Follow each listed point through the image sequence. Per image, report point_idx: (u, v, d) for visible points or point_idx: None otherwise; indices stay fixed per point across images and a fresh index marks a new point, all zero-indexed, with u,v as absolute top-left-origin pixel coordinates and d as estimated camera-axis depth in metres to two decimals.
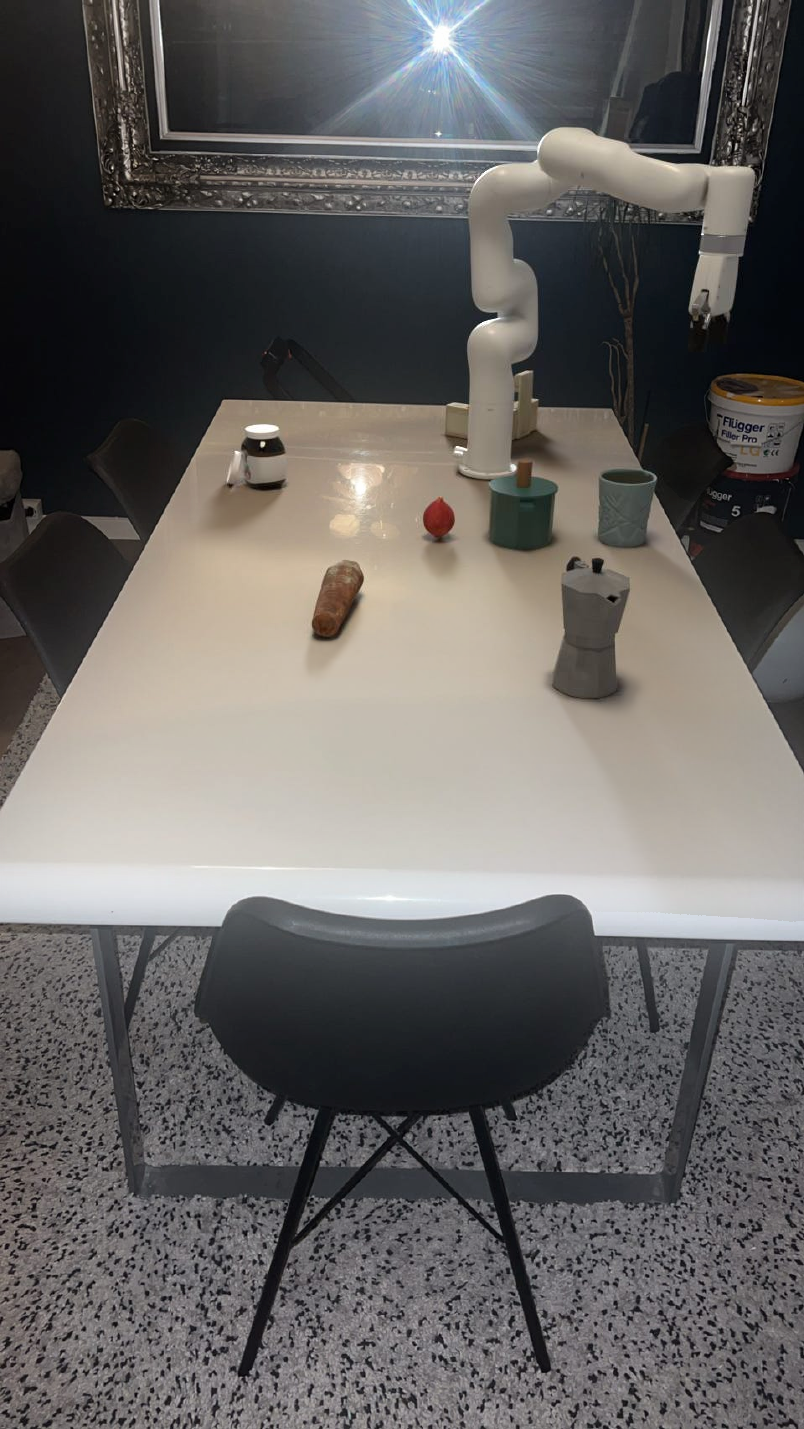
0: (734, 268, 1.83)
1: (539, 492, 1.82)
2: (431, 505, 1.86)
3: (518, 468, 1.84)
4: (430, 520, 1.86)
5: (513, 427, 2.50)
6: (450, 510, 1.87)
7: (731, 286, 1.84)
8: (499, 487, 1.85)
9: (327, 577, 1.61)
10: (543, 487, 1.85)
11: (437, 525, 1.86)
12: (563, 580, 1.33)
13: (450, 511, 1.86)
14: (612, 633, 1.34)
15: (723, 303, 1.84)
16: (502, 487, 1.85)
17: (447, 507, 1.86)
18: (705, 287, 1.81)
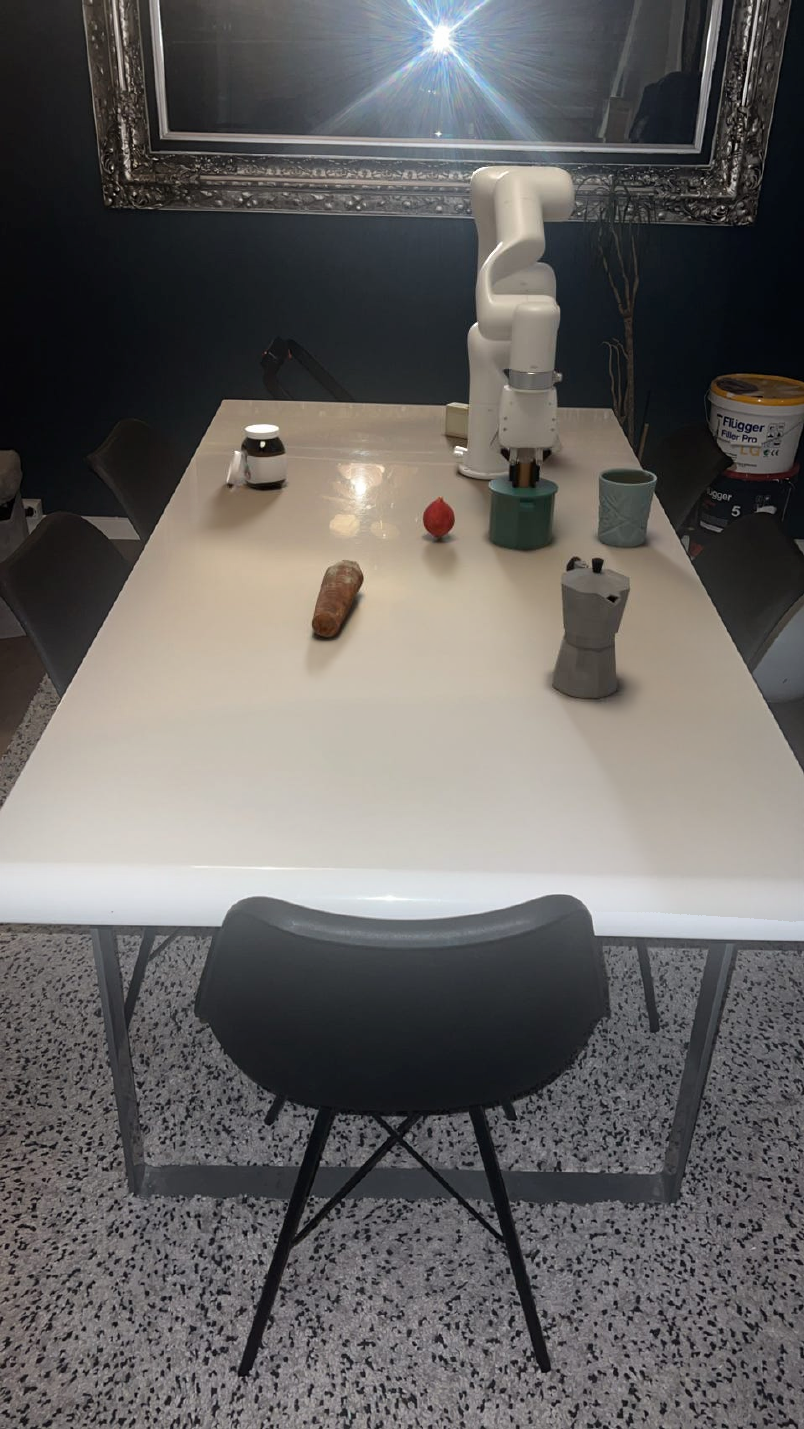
0: (537, 404, 1.76)
1: (539, 492, 1.82)
2: (431, 505, 1.86)
3: (518, 468, 1.84)
4: (430, 520, 1.86)
5: None
6: (450, 510, 1.87)
7: (536, 422, 1.78)
8: (500, 487, 1.85)
9: (327, 577, 1.61)
10: (543, 487, 1.85)
11: (437, 525, 1.86)
12: (563, 580, 1.33)
13: (450, 511, 1.86)
14: (612, 633, 1.34)
15: (522, 436, 1.79)
16: (502, 487, 1.85)
17: (447, 507, 1.86)
18: (499, 416, 1.80)
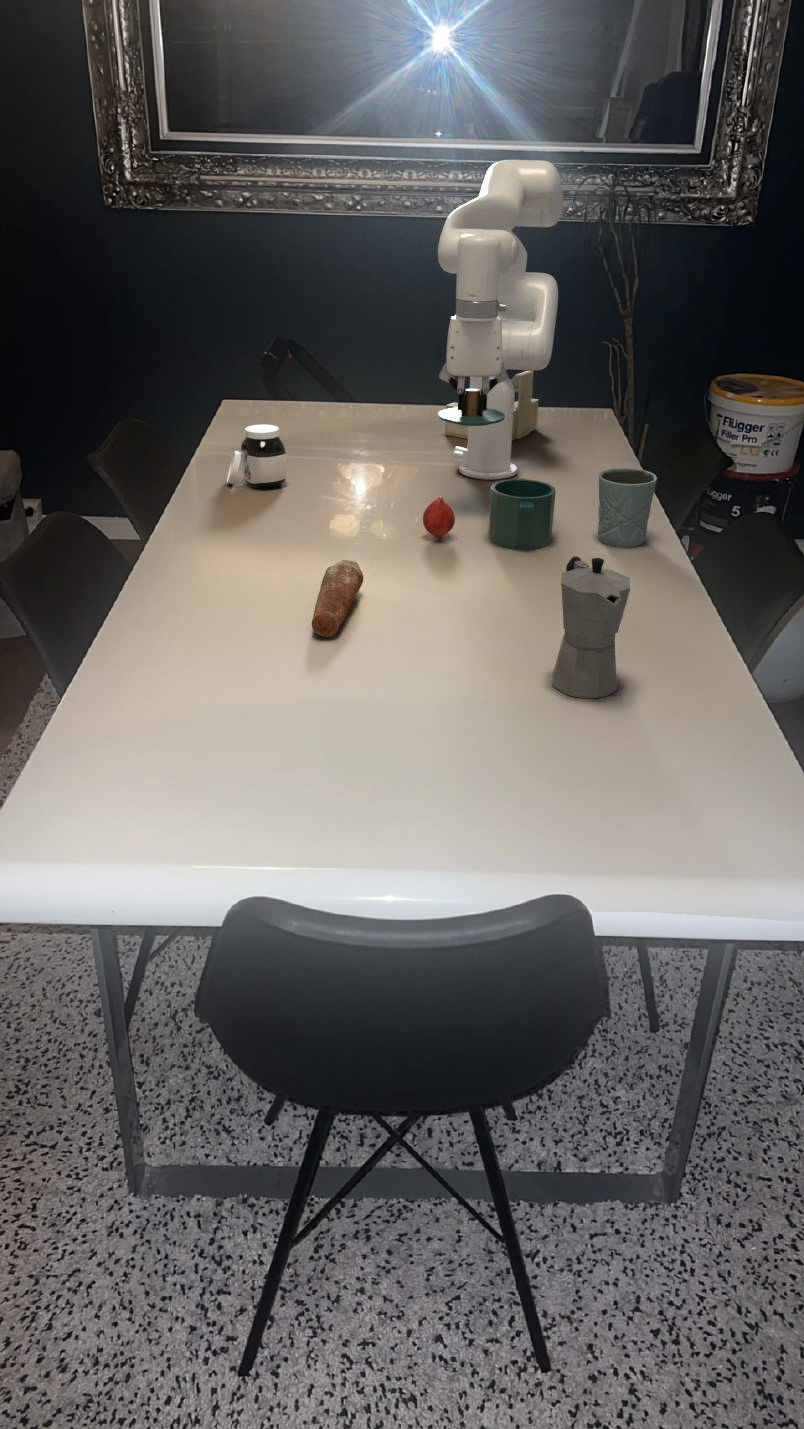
0: (482, 333, 1.85)
1: (486, 419, 1.91)
2: (431, 505, 1.86)
3: (466, 397, 1.92)
4: (430, 520, 1.86)
5: (513, 427, 2.50)
6: (450, 510, 1.87)
7: (482, 350, 1.86)
8: (449, 415, 1.93)
9: (327, 577, 1.61)
10: (490, 415, 1.93)
11: (437, 525, 1.86)
12: (563, 580, 1.33)
13: (450, 511, 1.86)
14: (612, 633, 1.34)
15: (468, 365, 1.88)
16: (451, 415, 1.93)
17: (448, 507, 1.86)
18: (447, 346, 1.88)
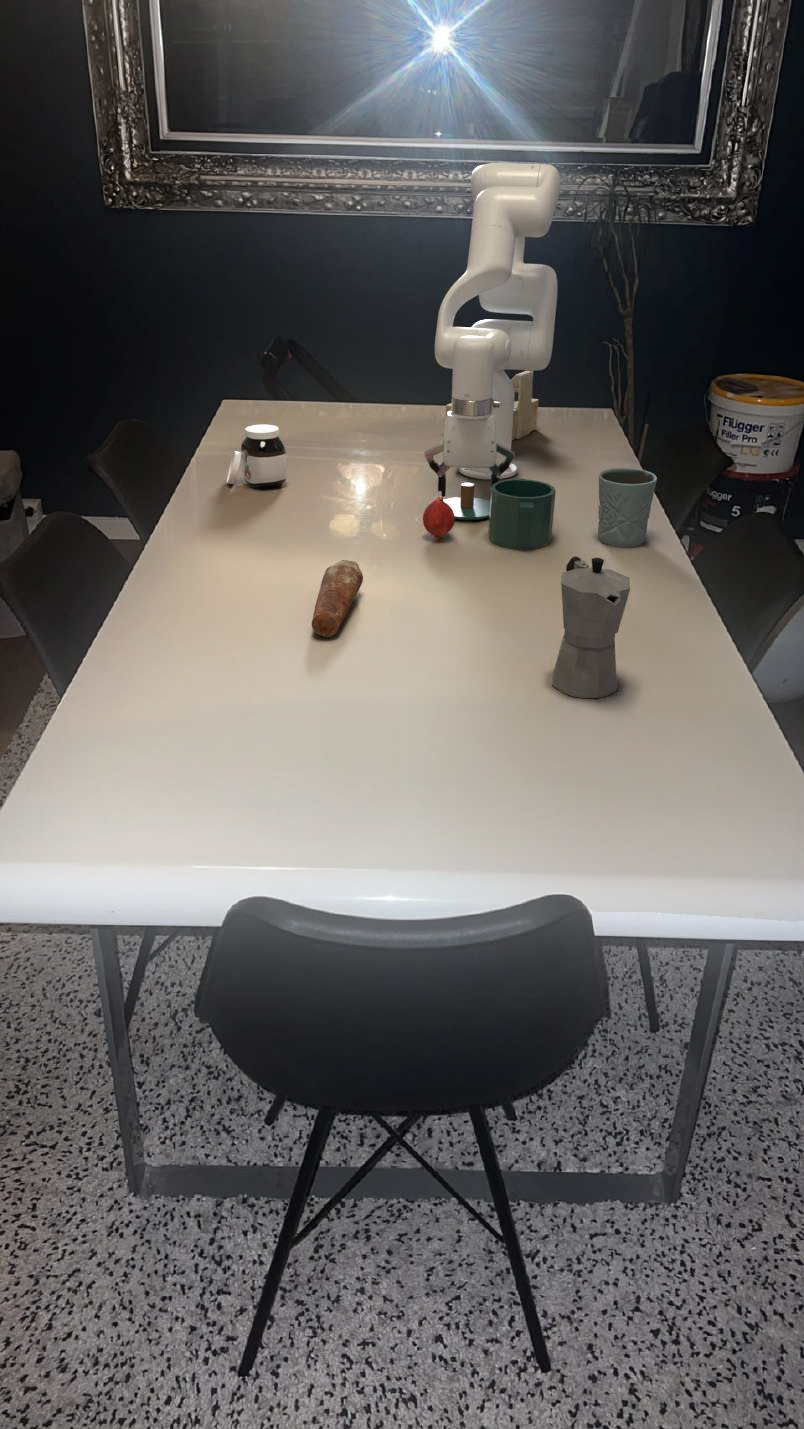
0: (477, 429, 1.93)
1: (480, 513, 2.00)
2: (431, 505, 1.86)
3: (461, 491, 2.01)
4: (430, 520, 1.86)
5: (513, 427, 2.50)
6: (450, 510, 1.87)
7: (477, 444, 1.95)
8: None
9: (326, 577, 1.61)
10: (484, 508, 2.02)
11: (437, 525, 1.86)
12: (563, 580, 1.33)
13: (450, 511, 1.86)
14: (612, 633, 1.34)
15: (464, 458, 1.97)
16: None
17: (448, 507, 1.86)
18: (443, 439, 1.97)
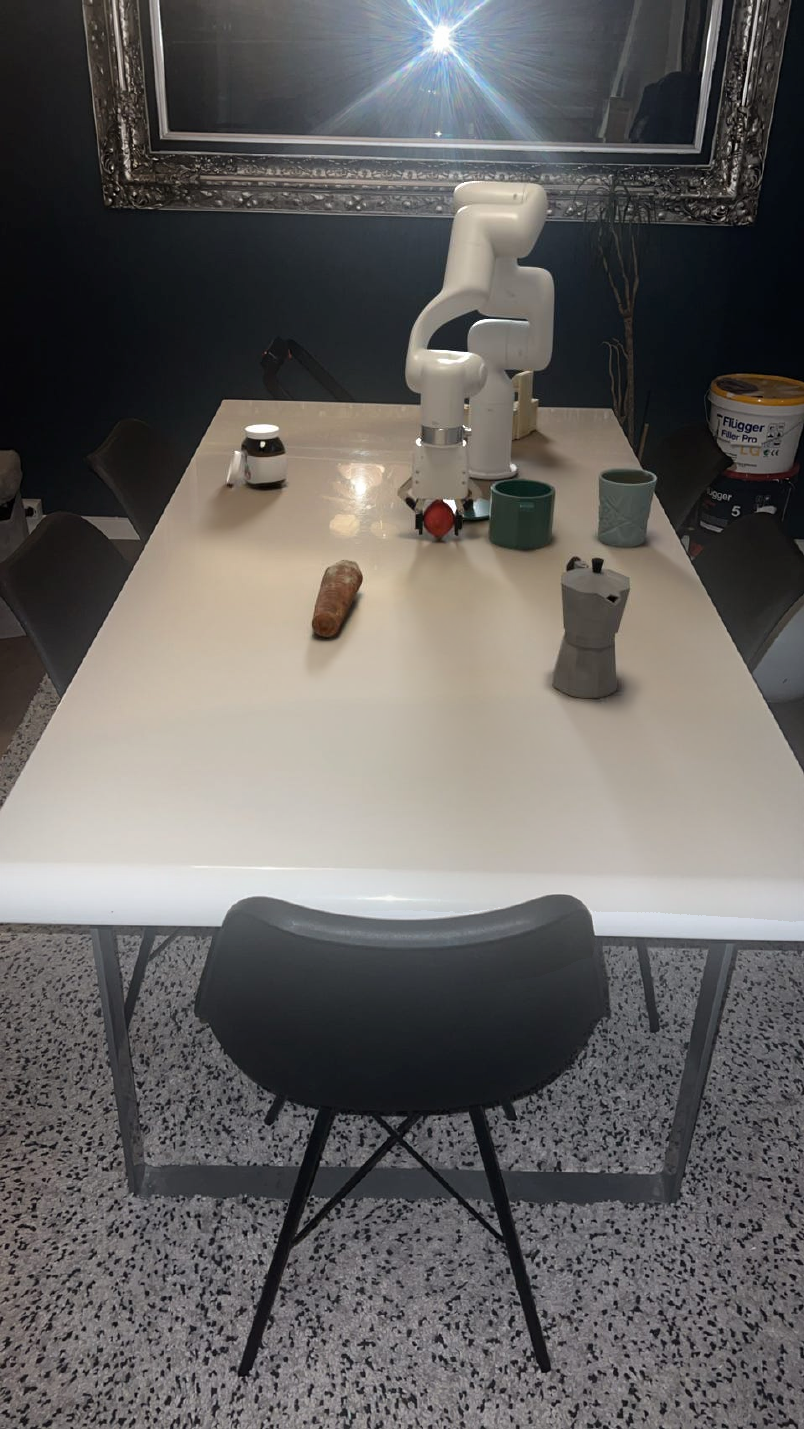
0: (447, 458, 1.80)
1: (480, 513, 2.00)
2: (431, 505, 1.86)
3: None
4: (430, 520, 1.86)
5: (513, 427, 2.50)
6: (450, 510, 1.87)
7: (447, 475, 1.82)
8: None
9: (326, 577, 1.61)
10: (484, 508, 2.02)
11: (438, 525, 1.86)
12: (563, 580, 1.33)
13: (450, 511, 1.86)
14: (612, 633, 1.34)
15: (434, 489, 1.83)
16: None
17: (448, 507, 1.86)
18: (412, 469, 1.84)
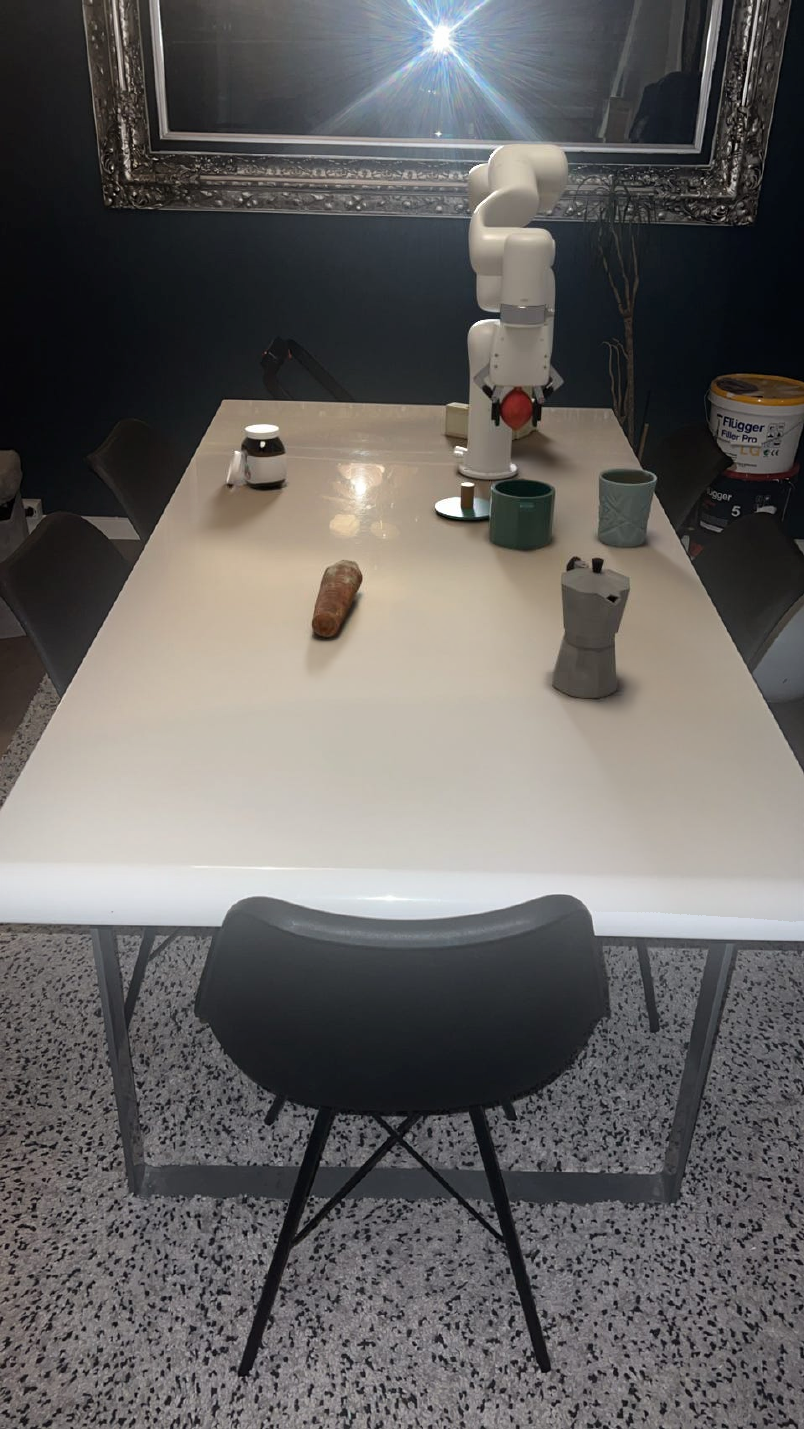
0: (529, 340, 1.71)
1: (480, 513, 2.00)
2: (509, 393, 1.77)
3: (461, 491, 2.01)
4: (508, 409, 1.77)
5: None
6: (529, 399, 1.77)
7: (528, 359, 1.73)
8: (445, 508, 2.02)
9: (326, 577, 1.61)
10: (484, 508, 2.02)
11: (516, 414, 1.77)
12: (563, 580, 1.33)
13: (529, 400, 1.77)
14: (612, 633, 1.34)
15: (513, 374, 1.74)
16: (447, 508, 2.02)
17: (526, 395, 1.77)
18: (490, 354, 1.75)
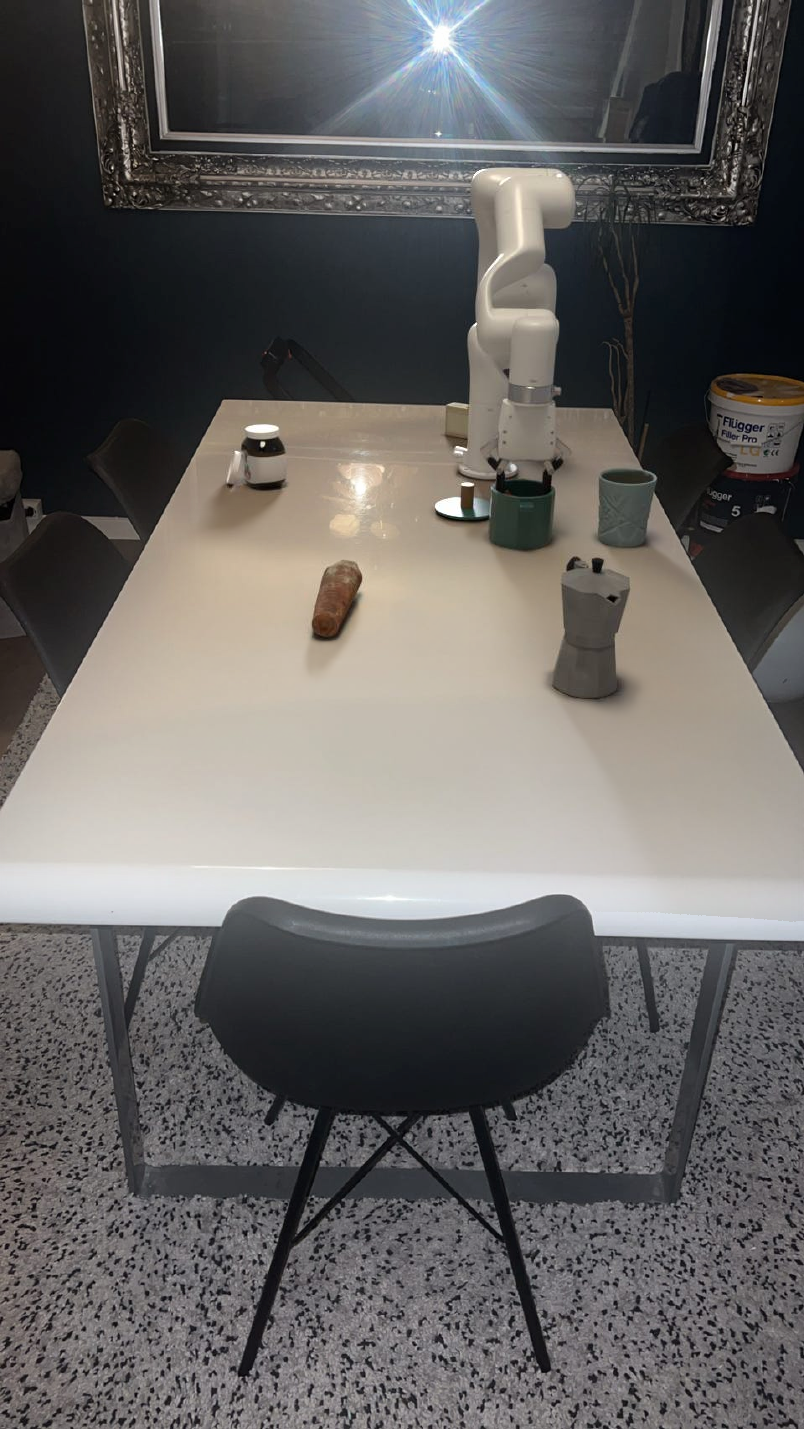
0: (536, 418, 1.77)
1: (480, 513, 2.00)
2: None
3: (461, 491, 2.01)
4: None
5: None
6: None
7: (535, 435, 1.79)
8: (445, 508, 2.02)
9: (326, 577, 1.61)
10: (484, 508, 2.02)
11: None
12: (563, 580, 1.33)
13: None
14: (612, 633, 1.34)
15: (521, 450, 1.80)
16: (447, 508, 2.02)
17: None
18: (498, 430, 1.81)
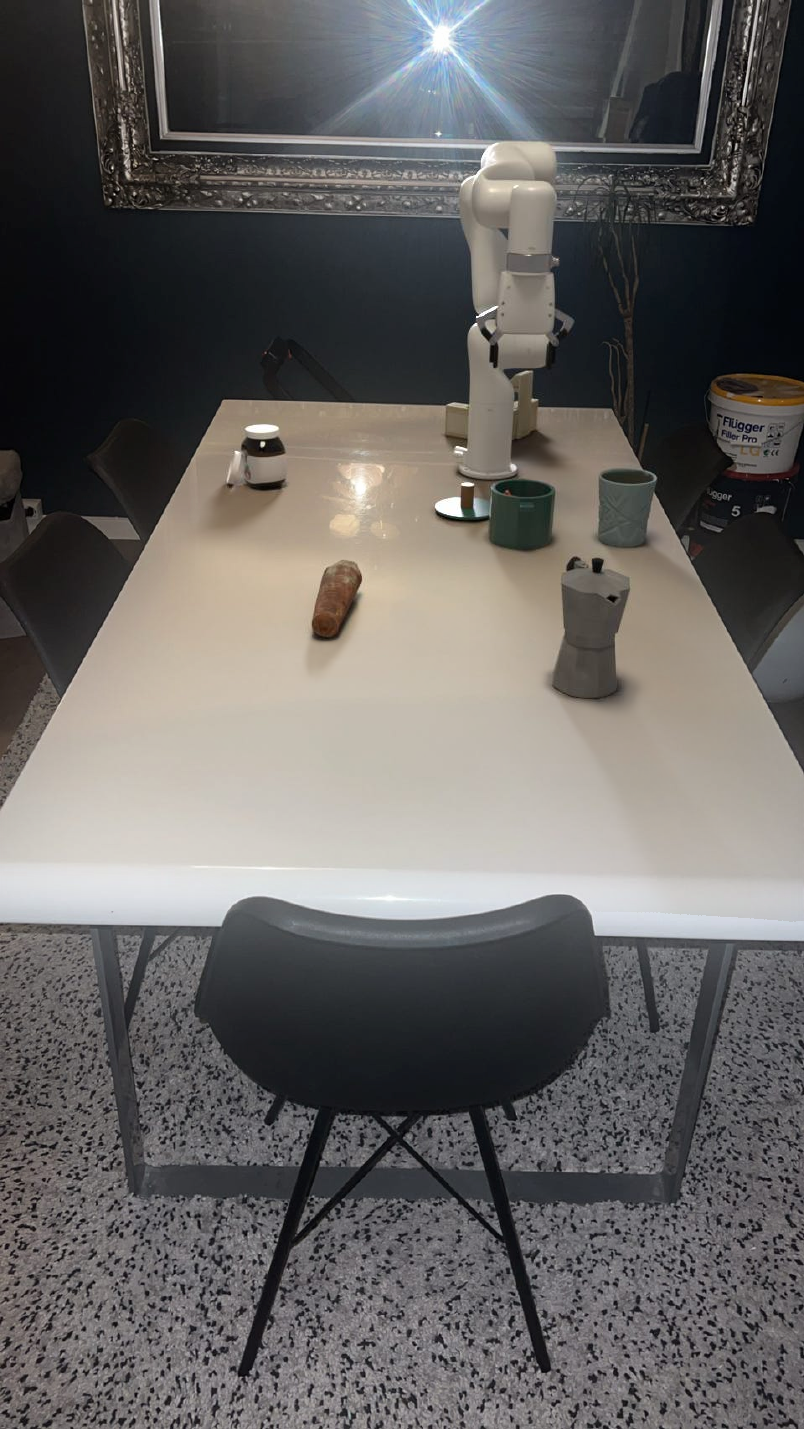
0: (534, 288, 1.78)
1: (480, 513, 2.00)
2: None
3: (461, 491, 2.01)
4: None
5: (513, 427, 2.50)
6: None
7: (533, 307, 1.79)
8: (445, 508, 2.02)
9: (326, 577, 1.61)
10: (484, 508, 2.02)
11: None
12: (563, 580, 1.33)
13: None
14: (612, 633, 1.34)
15: (519, 322, 1.81)
16: (447, 508, 2.02)
17: None
18: (497, 303, 1.81)
